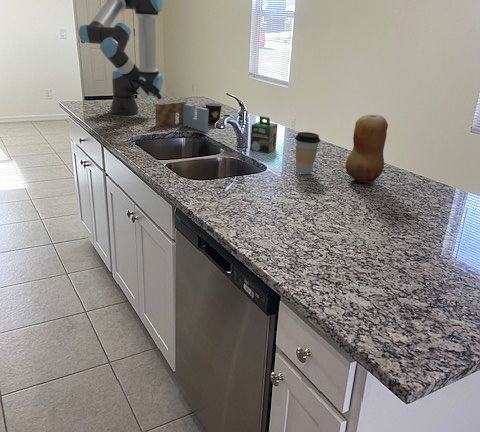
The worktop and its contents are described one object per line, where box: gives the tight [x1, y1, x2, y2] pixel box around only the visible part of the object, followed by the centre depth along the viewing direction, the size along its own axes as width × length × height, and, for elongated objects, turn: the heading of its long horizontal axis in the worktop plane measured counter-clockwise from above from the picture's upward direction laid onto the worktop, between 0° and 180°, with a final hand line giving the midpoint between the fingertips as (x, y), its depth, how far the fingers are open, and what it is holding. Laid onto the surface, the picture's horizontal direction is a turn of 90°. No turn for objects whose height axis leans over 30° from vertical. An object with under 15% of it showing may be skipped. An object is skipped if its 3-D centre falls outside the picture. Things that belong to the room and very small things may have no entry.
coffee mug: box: [201, 102, 223, 125], centre depth 248 cm, size 12×9×10 cm
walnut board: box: [155, 100, 187, 128], centre depth 237 cm, size 18×2×11 cm, turn 137°
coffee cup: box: [294, 131, 321, 175], centre depth 176 cm, size 9×9×15 cm
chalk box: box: [249, 116, 278, 154], centre depth 203 cm, size 9×9×15 cm
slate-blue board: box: [182, 103, 209, 133], centre depth 233 cm, size 16×2×11 cm, turn 47°
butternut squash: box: [345, 114, 389, 183], centre depth 169 cm, size 14×13×25 cm
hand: (154, 100), depth 226 cm, fingers open, 13 cm apart
